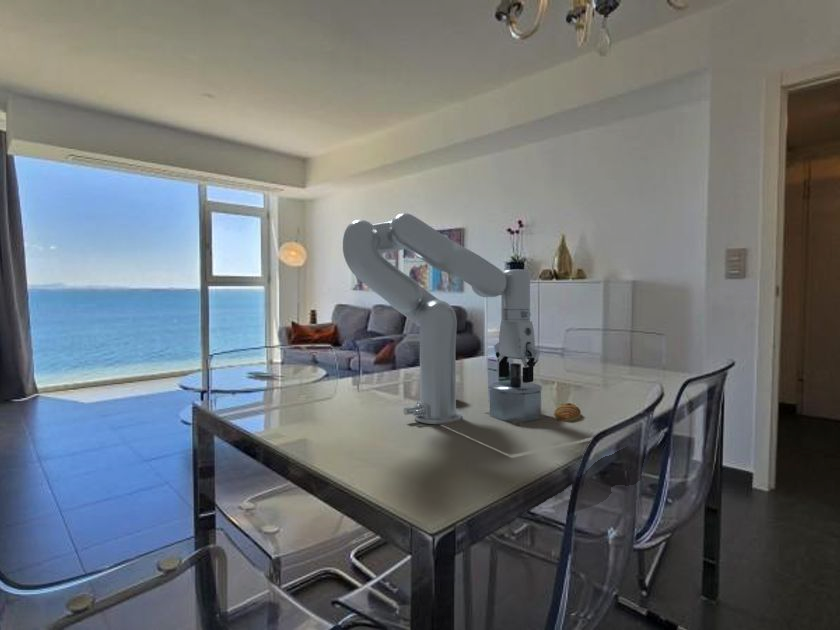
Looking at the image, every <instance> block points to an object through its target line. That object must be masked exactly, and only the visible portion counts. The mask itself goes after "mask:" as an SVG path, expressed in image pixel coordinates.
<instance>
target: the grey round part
mask: <svg viewBox="0 0 840 630" xmlns="http://www.w3.org/2000/svg"><path fill="white" fill-rule="evenodd" d="M542 391H543V387H542V385H540V384H537V383H534V382H528V383H523V381H522V364H521V363H518V362H513V363H511V364H510V382H497V383H493V384H491V385H490V402H489V412H490V415H489V416H490V417H492V418H495V419H498V420H501V421H504V422H505V421H506V422H508V421H520V422H519V423H522V422H523V423H524V422H525V423H526V422H531V421H536V420H537V421H538V420H541V419H542V418H541V415H542Z"/></svg>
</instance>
